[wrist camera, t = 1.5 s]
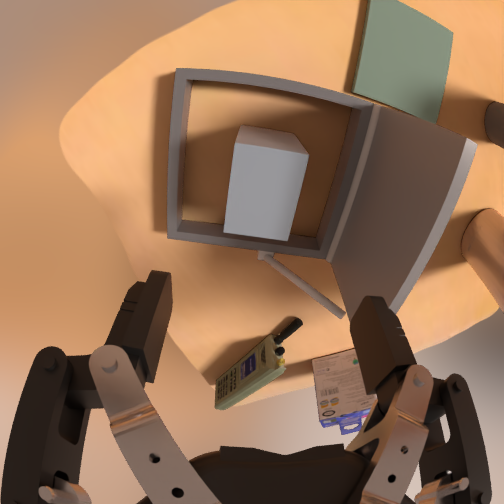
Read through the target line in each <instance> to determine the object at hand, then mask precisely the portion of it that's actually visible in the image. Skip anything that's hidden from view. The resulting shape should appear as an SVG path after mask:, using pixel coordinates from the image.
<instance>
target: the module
mask: <svg viewBox="0 0 504 504" xmlns="http://www.w3.org/2000/svg"><path fill="white" fill-rule="evenodd" d="M308 159H309V154H308V153H307V151H306V150H305V148H304V147H303V146H302V144H301V143H300V141H299V140H298V139H297V137H296V136H295V134H294V133H289V132H283V131H278V130H272V129H266V128H260V127H253V126H246V125H241V126H240V129H239V132H238V135H237V138H236V141H235V146H234V153H233V160H232V167H231V175H230V183H229V190H228V198H227V206H226V214H225V223H224V231H223V232H224V233H232V234H239V235H247V236H254V237H261V238H269V239H276V240H283V241H288V237H289V234H290V230H291V226H292V222H293V218H294V215H295V211H296V207H297V203H298V199H299V195H300V191H301V187H302V183H303V179H304V175H305V171H306V167H307V163H308Z"/></svg>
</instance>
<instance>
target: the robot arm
mask: <svg viewBox="0 0 504 504" xmlns="http://www.w3.org/2000/svg"><path fill="white" fill-rule="evenodd" d="M461 252H462V255H463V256H464V258H465V259H466V260H467V262H468V263H469V264H470V265H471V267H472V268H473V269H474V271H475V272H476V273H477V275H478V276H479V277H480V279H481V280H482V282H483V283H484V284H485V286H486V287H487V289H488V290H489V291H490V293H491V294H492V296H493V297H494V299H495V300H496V302H497V303H498V305H499V306H500V308H501V309H502V311H503V313H504V217H503V216H502V215H501V214H499V213H498V212H497V211H496V210H494V209H486V210H484V211H482V212H480V213H479V214H478V215H477V216H476V217H475V218H474V219H473V220H472V221H471V223H470V224H469V225H468V227H467V229H466V231H465V233H464V236H463V239H462V244H461ZM172 304H173V299H172V282H171V273H169V272H162V271H155V270H152V271H151V272H150V274H149V276H148V279H147V281H146V283H145V282H139V281H137V282H136V283H135V284H134V285H133V286H132V287H131V288H130V289H129V290H128V292H127V294H126V296H125V298H124V302H123V303H122V305H121V308H120V311H119V312H118V314H117V316H116V319H115V321H114V324H113V326H112V328H111V331H110V334H109V336H108V338H107V340H106V343H105V344H104V346H101V347H99V348H98V349H96V350H95V351H94V352H93V353H92V354H90V355H83V356H82V355H81V356H66V355H65V353H64V352H63V351H62V350H61V349H59V348H57V347H53V346H51V347H46V348H44V349H42V350H41V351H39V352H38V354H37V355H36V357H35V359H34V361H33V364H32V366H31V369H30V372H29V374H28V377H27V380H26V383H25V386H24V388H23V391H22V394H21V398H20V401H19V404H18V407H17V411H16V414H15V418H14V421H13V425H12V429H11V433H10V438H9V442H8V448H7V453H6V458H5V464H4V470H3V478H2V487H1V504H91V499H90V497H89V495H88V493H87V492H86V491H85V490H84V489H83V488H82V487H81V486H79V485H78V482H79V474H80V467H81V459H82V452H83V446H84V441H85V435H86V430H87V425H88V420H89V415H90V411H91V409H92V408H93V409H95V408H104V409H105V411H106V413H107V416H108V418H109V420H110V428H111V431H112V433H113V435H114V437H115V440H116V442H117V444H118V446H119V448H120V450H121V452H122V454H123V455H124V457H125V459H126V461H127V463H128V465H129V466H130V468H131V470H132V471H133V473H134V475H135V477H136V478H137V480H138V482H139V483H140V485H141V486H142V488H143V490H144V491H145V493H146V494H147V496H146V497H145V498H143V499H142V500H141V501H139V502H138V503H137V504H490V501H491V497H492V490H491V481H490V473H489V467H488V461H487V456H486V450H485V445H484V441H483V436H482V432H481V428H480V424H479V420H478V417H477V413H476V410H475V407H474V403H473V400H472V397H471V394H470V391H469V388H468V385H467V382H466V381H465V379H464V378H463V377H462V376H461V375H459V374H452V375H450V376H449V377H448V378H447V379H446V380H441V379H437V378H433V377H432V375H431V373H430V372H429V370H428V369H426V368H425V367H424V366H422V365H417V363H416V360H415V358H414V355H413V352H412V350H411V347H410V345H409V342H408V340H407V337H405V333H404V330H403V329H402V326H401V323H400V321H399V319H398V317H397V316H396V315H395V313H394V312H393V311H392V310H391V309H389V308H388V306H387V304H386V302H385V300H384V298H383V297H381V296H369V295H367V296H365V297H364V298H363V300H362V302H361V303H360V305H359V307H358V309H357V310H356V312H355V314H354V316H353V317H352V319H351V322H350V333H351V337H352V340H353V344H354V347H355V351H356V355H357V358H358V362H359V366H360V370H361V374H362V378H363V382H364V386H365V390H366V395H373V394H376V395H377V399H376V400H375V401H374V403H373V405H372V407H371V409H370V411H369V413H368V415H367V417H366V420H365V421H364V424H363V425H362V427H361V429H360V431H359V433H358V435H357V436H356V437H355V438H354V439H353V441H351V443H350V444H349V445H348V446H347V448H346V449H345V450H344V444H334V445H325V446H316V447H312V448H309V449H306V450H303V451H300V452H296V453H293V454H289V455H281V454H277V453H272V452H268V451H264V450H260V449H256V448H245V447H229V446H221V447H220V450H219V451H214V452H210V453H205V454H203V455H200V456H197V457H195V458H193V459H191V460H190V461H188V460H187V459H186V457H185V456H184V454H183V453H182V451H181V450H180V448H179V447H178V445H177V444H176V442H175V441H174V439H173V438H172V436H171V434H170V433H169V431H168V430H167V428H166V426H165V425H164V423H163V421H162V420H161V418H160V416H159V414H158V413H157V411H156V410H155V408H154V407H153V405H152V404H151V402H150V400H149V398H148V396H147V394H146V393H145V390H144V387H145V382H150V383H154V379H155V375H156V371H157V367H158V363H159V358H160V354H161V350H162V347H163V343H164V339H165V335H166V331H167V327H168V324H169V320H170V316H171V312H172ZM444 414H446V417H447V421H448V425H449V429H450V439H449V441H448V442H447V443H445V440H444V435H443V430H442V426H441V422H440V417H442V416H443V415H444ZM418 462H419V467H420V476H421V485H422V490H421V492H420V493H418V494H417V495H416V496H415V499H414V500H415V502H414V501H412V500H411V499H410V498H409V497H408V496H407V495H406V494H405V493H406V491H407V488H408V486H409V484H410V482H411V479H412V477H413V475H414V472H415V470H416V467H417V465H418Z"/></svg>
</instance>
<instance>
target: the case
mask: <svg viewBox="0 0 504 504" xmlns="http://www.w3.org/2000/svg"><path fill="white" fill-rule="evenodd" d="M193 80H208V81H220V82H230V83H239V84H247V85H254V86H261V87H267V88H273V89H279V90H284V91H289V92H294V93H299V94H303V95H308V96H312V97H316V98H320V99H324V100H328V101H332V102H335V103H339V104H342V105H346V106H349V107H352V111H351V116H350V120H349V124H348V128H347V132H346V136H345V139H344V143H343V147H342V151H341V155H340V158H339V162H338V165H337V169H336V173H335V176H334V180H333V183H332V186H331V190H330V193H329V197H328V200H327V203H326V207H325V210H324V213H323V216H322V220H321V223H320V226H319V229H318V232H317V235H316V238H312V237H305V236H299V235H292V234H289V237H288V241H283V240H276V239H269V238H261V237H254V236H247V235H239V234H232V233H224V232H223V231H224V225H220V224H213V223H205V222H197V221H189V220H182V205H183V182H184V164H185V150H186V138H187V126H188V116H189V106H190V98H191V89H192V81H193ZM477 145H478V144H476V143H475V142H473V141H471V140H470V139H468V138H466V137H464V136H462V135H460V134H458V133H455V132H453V131H451V130H448V129H446V128H444V127H441V126H439V125H436V124H433V123H431V122H428V121H426V120H423V119H420V118H417V117H414V116H412V115H409V114H406V113H403V112H399V111H396V110H393V109H390V108H386V107H383V106H380V105H377V104H374V103H371V102H368V101H365V100H362V99H359V98H356V97H353V96H350V95H346V94H343V93H340V92H336V91H333V90H329V89H325V88H321V87H317V86H313V85H309V84H305V83H301V82H296V81H291V80H286V79H281V78H275V77H270V76H263V75H257V74H250V73H242V72H233V71H223V70H210V69H191V68H176V73H175V81H174V90H173V100H172V111H171V123H170V137H169V155H168V183H167V238H168V239H175V240H183V241H191V242H198V243H206V244H213V245H221V246H229V247H236V248H244V249H251V250H257V257H258V260H263V261H265V262H267V263H268V264H269V265H271V266H272V267H273V268H275V269H276V270H277V271H278V272H280V273H281V274H282V275H284V276H285V277H286V278H288V279H289V280H290V281H291V282H293V283H294V284H295V285H297V286H298V287H299V288H301V289H302V290H303V291H304V292H306V293H307V294H308V295H310V296H311V297H312V298H314V299H315V300H316V301H317V302H319V303H320V304H321V305H323V306H324V307H325V308H327V309H328V310H329V311H330V312H332V313H333V314H334V315H336V316H337V317H338V318H339V319H342V318H343V317H344V315H345V314H346V312H345V311H344V310H342V309H341V308H340V307H338V306H337V305H336V304H334V303H333V302H332V301H330V300H329V299H328V298H326V297H325V296H324V295H322V294H321V293H320V292H318V291H317V290H316V289H314V288H313V287H312V286H310V285H309V284H308V283H306V282H305V281H304V280H302V279H301V278H300V277H298V276H297V275H296V274H294V273H293V272H292V271H290V270H289V269H288V268H286V267H285V266H284V265H282V264H281V263H280V262H278V261H277V260H276V259H274V258H273V257H274V253H281V254H289V255H296V256H303V257H311V258H318V259H326V261H327V262H329V263H331V265H332V268H333V271H334V274H335V277H336V280H337V283H338V286H339V289H340V292H341V295H342V298H343V302H344V305H345V308H346V311H347V315H348V318H349V321H350V322H351V319H352V317H353V316H354V314H355V312H356V310H357V309H358V307H359V305H360V303H361V302H362V300H363V298H364V297H365V296H367V295H369V296H381V297H383V298H384V300H385V302H386V304H387V306H388V308H389V309H391V310H392V311H393V312H394V313H395V315H396V313H397V312H398V310H399V309H400V307H401V306H402V304H403V303H404V301H405V300H406V298H407V296H408V295H409V293H410V292H411V290H412V288H413V287H414V285H415V283H416V282H417V280H418V278H419V277H420V275H421V273H422V272H423V270H424V268H425V266H426V264H427V263H428V261H429V259H430V257H431V255H432V253H433V252H434V250H435V248H436V246H437V244H438V242H439V240H440V238H441V236H442V234H443V232H444V230H445V228H446V226H447V224H448V221H449V219H450V217H451V215H452V213H453V210H454V208H455V206H456V203H457V201H458V199H459V196H460V194H461V191H462V189H463V186H464V183H465V181H466V178H467V175H468V173H469V170H470V167H471V164H472V161H473V158H474V155H475V152H476V149H477Z"/></svg>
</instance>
